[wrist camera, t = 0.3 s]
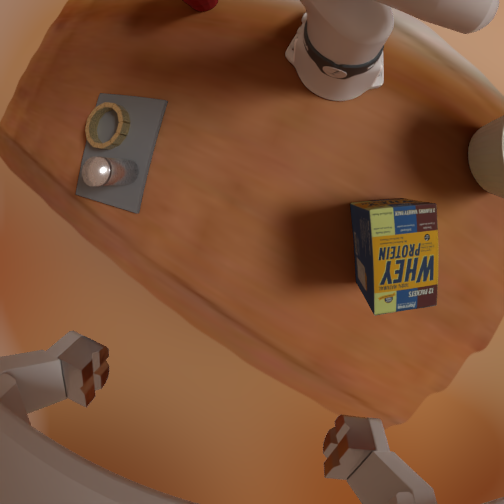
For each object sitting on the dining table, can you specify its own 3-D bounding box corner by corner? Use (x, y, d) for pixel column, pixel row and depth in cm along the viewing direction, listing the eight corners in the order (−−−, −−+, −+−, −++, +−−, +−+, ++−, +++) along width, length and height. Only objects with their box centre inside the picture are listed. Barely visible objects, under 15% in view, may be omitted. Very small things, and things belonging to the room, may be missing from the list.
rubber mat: (102, 94, 54) (100, 93, 53) (167, 101, 53) (165, 100, 52) (78, 194, 60) (75, 194, 59) (139, 212, 58) (136, 213, 57)
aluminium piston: (120, 157, 55) (85, 153, 44) (141, 162, 55) (107, 158, 43) (115, 182, 57) (79, 183, 45) (135, 187, 56) (101, 190, 45)
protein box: (401, 196, 51) (437, 202, 36) (405, 277, 54) (437, 307, 39) (348, 202, 52) (368, 208, 37) (355, 284, 55) (373, 317, 40)
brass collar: (100, 103, 53) (92, 101, 51) (135, 107, 53) (128, 104, 50) (89, 145, 56) (80, 144, 53) (123, 152, 55) (115, 151, 52)
